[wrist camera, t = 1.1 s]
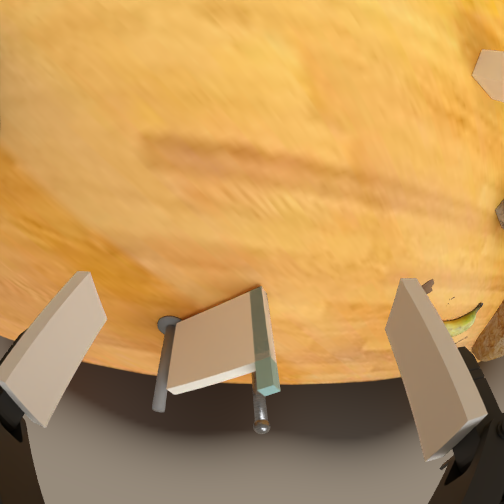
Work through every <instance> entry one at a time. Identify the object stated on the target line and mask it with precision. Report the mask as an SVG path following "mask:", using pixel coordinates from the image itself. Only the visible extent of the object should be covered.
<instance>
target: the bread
mask: <svg viewBox="0 0 504 504" xmlns="http://www.w3.org/2000/svg"><path fill="white" fill-rule="evenodd" d="M472 350H473V353H474V355H475V356H476V358H477V359H478V360H481V361H489V360H492V359H496V358H499V357H502V356H504V300H503V302H502V304H501V305H500V307H499V308H498V310H497V311H496V313H495V314H494V316H493V317H492V319H491V320H490V321H489V323H488V324H487V326H486V327H485V328H484V330H483V331H482V333H481V334H480V335H479V337H478V339H477V340H476V342H475V344H474V346H473V347H472Z"/></svg>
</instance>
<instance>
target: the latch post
mask: <svg viewBox="0 0 504 504" xmlns="http://www.w3.org/2000/svg"><path fill="white" fill-rule="evenodd" d="M252 386H253V400H254V414H255V423H254V430H255V431H256V432H257V433H259V434H264V433H267V432H268V431H269V429H270V423H269V422H268V419H267V409H266V399H265V396H264V395H263V394H261V393H260V392H259V391H258V390H257V380H256V371H254V372H252Z"/></svg>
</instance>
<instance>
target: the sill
mask: <svg viewBox="0 0 504 504" xmlns="http://www.w3.org/2000/svg"><path fill="white" fill-rule="evenodd" d="M181 321H182V320H181V319H179V318H177V317H174V316H164V317H162V318H160V319H159V321H158V329H159V330H160V331H161V332H162V333H163V334H165V331H166V327H167V325H173V326H175V327H176V324H177V323H178V322H181Z"/></svg>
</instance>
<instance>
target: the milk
mask: <svg viewBox="0 0 504 504" xmlns="http://www.w3.org/2000/svg"><path fill="white" fill-rule="evenodd" d="M472 77H473V78H474V79H475V80H476V81H477V82H478V83H479V84H480V86H481V87H482V88H483V89H484V90H485V91H486V93H487V94H488V95H489V96H490V98H491V99H494V100H497V101H501V102H504V51H495V50H485V49H482V50H481V53H480V56H479V58H478V61H477V63H476V66H475V68H474V71H473V73H472Z"/></svg>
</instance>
